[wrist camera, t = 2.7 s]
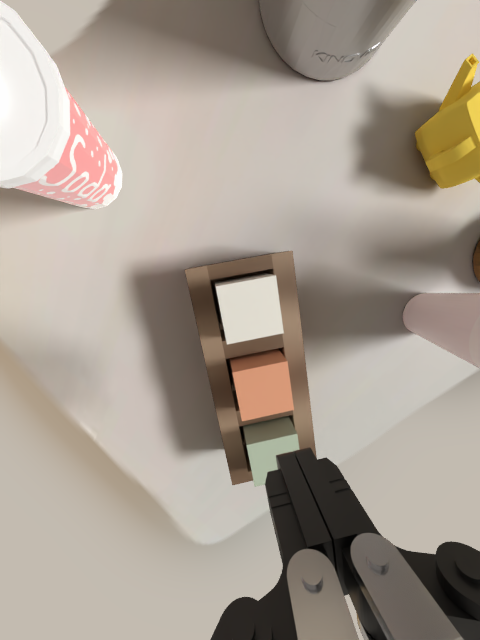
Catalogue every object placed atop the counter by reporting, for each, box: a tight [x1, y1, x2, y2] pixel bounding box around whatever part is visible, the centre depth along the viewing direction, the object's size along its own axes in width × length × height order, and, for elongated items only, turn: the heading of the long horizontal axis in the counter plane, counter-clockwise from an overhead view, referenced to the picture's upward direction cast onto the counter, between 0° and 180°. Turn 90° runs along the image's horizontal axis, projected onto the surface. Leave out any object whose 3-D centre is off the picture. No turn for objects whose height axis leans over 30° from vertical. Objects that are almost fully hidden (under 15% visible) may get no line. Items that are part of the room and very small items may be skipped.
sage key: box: [243, 416, 299, 487], centre depth 19 cm, size 4×4×3 cm
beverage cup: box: [0, 1, 122, 209], centre depth 11 cm, size 6×6×14 cm
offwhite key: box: [215, 273, 284, 344], centre depth 17 cm, size 4×4×3 cm
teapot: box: [415, 54, 480, 188], centre depth 17 cm, size 8×6×5 cm
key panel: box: [185, 251, 316, 485], centre depth 20 cm, size 17×7×4 cm, turn 10°
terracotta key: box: [230, 348, 294, 421], centre depth 18 cm, size 4×4×3 cm
